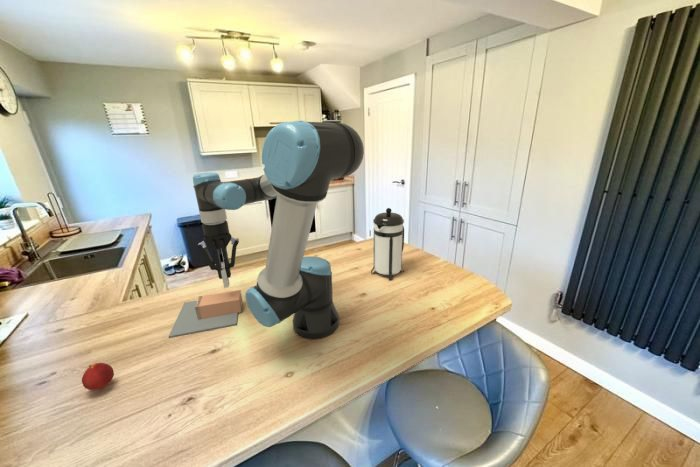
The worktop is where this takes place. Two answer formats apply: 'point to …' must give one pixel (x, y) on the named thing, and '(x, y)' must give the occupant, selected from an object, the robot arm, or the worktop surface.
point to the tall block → (218, 304)
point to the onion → (97, 376)
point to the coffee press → (388, 243)
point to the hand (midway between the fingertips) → (226, 285)
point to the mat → (199, 321)
